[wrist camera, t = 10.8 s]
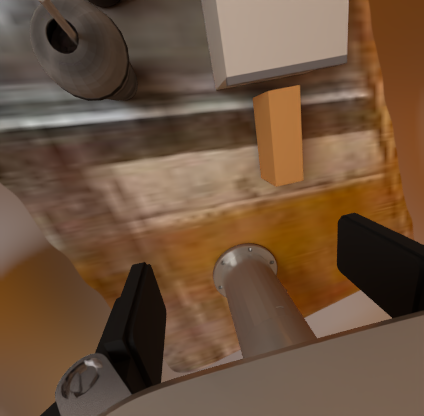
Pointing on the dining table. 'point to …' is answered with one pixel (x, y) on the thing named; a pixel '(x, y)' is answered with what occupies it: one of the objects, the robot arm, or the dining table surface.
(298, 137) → the orange rectangular block
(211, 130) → the dining table surface
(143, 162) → the dining table surface
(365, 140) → the dining table surface
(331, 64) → the beige rectangular block
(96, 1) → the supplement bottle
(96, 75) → the beverage cup
